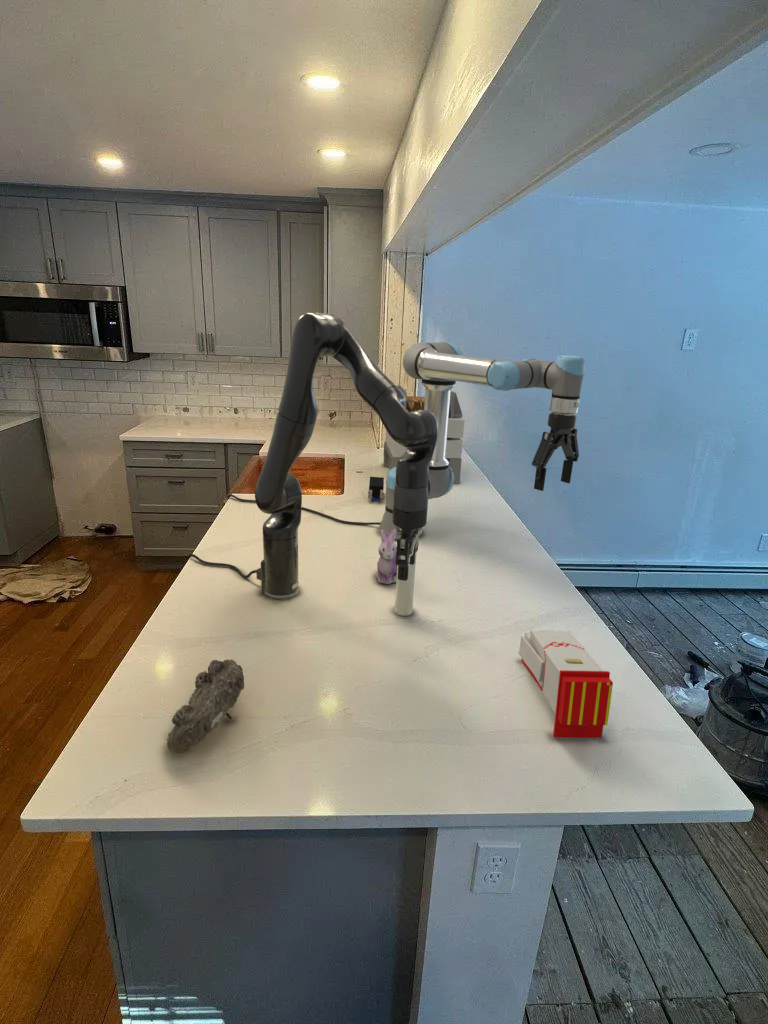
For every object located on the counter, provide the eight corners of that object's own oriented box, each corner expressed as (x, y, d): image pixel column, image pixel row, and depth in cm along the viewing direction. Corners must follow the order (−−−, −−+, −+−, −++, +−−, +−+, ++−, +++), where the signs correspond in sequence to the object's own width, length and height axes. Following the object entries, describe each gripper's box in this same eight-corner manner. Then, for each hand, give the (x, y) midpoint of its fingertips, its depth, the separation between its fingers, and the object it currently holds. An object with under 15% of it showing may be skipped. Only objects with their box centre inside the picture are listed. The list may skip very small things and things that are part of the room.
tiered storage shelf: (382, 463, 289) (386, 382, 275) (445, 464, 293) (451, 384, 279) (390, 482, 257) (394, 392, 243) (460, 483, 261) (468, 394, 247)
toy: (565, 614, 131) (622, 678, 102) (559, 667, 134) (613, 744, 105) (513, 613, 131) (555, 677, 102) (509, 666, 134) (548, 744, 104)
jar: (406, 617, 146) (411, 547, 139) (391, 612, 148) (395, 543, 142) (415, 610, 150) (420, 541, 143) (400, 605, 152) (404, 537, 145)
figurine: (383, 587, 161) (385, 538, 155) (367, 573, 169) (369, 526, 164) (412, 582, 165) (415, 534, 160) (395, 567, 173) (397, 522, 168)
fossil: (192, 660, 117) (244, 628, 112) (224, 691, 120) (276, 661, 115) (142, 746, 98) (202, 712, 93) (182, 779, 101) (242, 748, 96)
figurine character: (384, 507, 230) (383, 491, 243) (385, 490, 226) (384, 475, 240) (367, 506, 230) (368, 491, 243) (368, 489, 226) (368, 474, 240)
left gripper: (400, 492, 130) (396, 557, 135) (386, 512, 117) (383, 583, 122) (432, 496, 128) (427, 561, 134) (422, 516, 115) (417, 587, 121)
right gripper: (548, 419, 148) (537, 496, 155) (598, 411, 163) (586, 482, 171) (525, 414, 153) (515, 489, 160) (575, 407, 169) (564, 476, 176)
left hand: (406, 571), depth 128 cm, fingers open, 8 cm apart
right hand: (552, 485), depth 166 cm, fingers open, 13 cm apart
